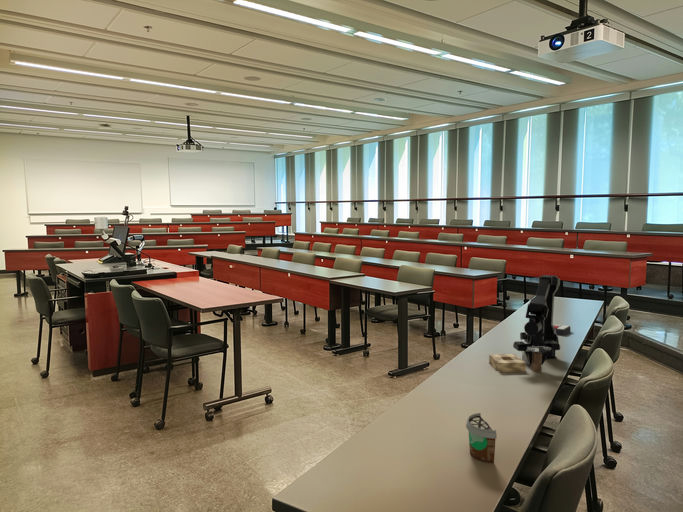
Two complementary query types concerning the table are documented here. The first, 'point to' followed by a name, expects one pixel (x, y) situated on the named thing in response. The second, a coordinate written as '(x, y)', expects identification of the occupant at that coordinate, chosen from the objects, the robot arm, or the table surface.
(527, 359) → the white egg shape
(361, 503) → the table surface
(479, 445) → the food container
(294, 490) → the table surface
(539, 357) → the square peg
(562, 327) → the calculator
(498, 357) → the socket block
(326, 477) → the table surface
